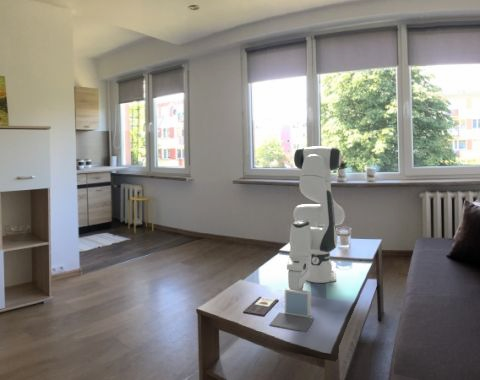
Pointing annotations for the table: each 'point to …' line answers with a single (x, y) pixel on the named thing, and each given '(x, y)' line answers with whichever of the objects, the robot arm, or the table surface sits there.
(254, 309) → the chocolate bar
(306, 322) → the mat
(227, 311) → the table surface
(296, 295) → the tile
